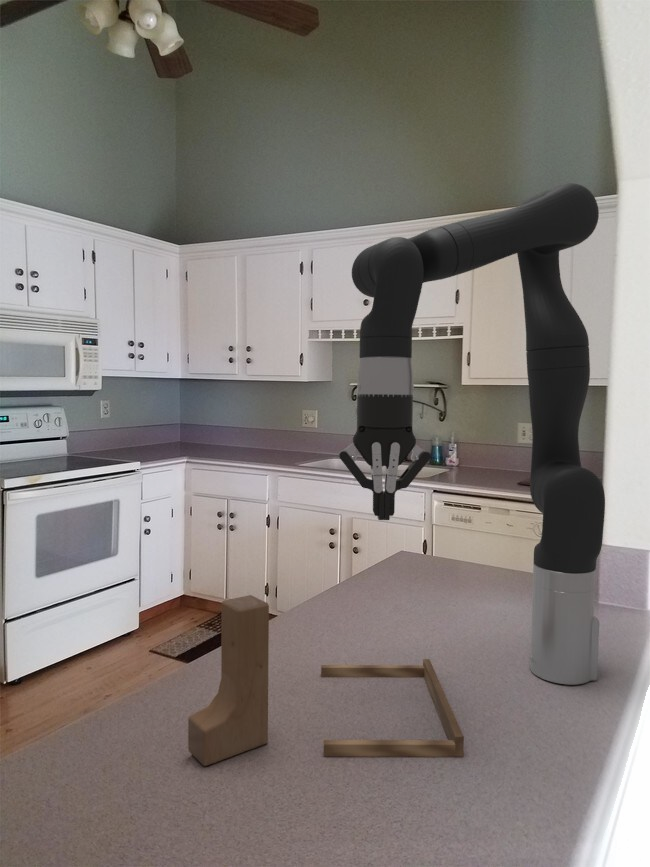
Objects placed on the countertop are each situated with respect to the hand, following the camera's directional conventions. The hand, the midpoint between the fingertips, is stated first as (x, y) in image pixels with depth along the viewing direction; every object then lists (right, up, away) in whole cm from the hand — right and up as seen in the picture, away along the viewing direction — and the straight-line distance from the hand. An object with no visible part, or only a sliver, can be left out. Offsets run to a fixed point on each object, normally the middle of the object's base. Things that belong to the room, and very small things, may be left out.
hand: (383, 519), depth 88 cm
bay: (0, -27, +2) cm, 27 cm away
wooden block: (-20, -27, -8) cm, 35 cm away
